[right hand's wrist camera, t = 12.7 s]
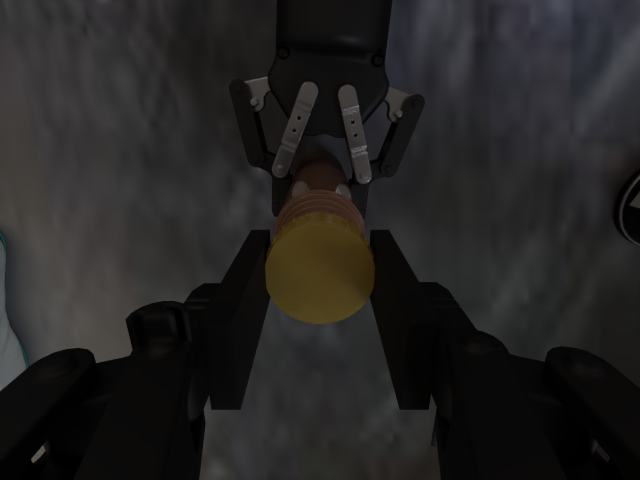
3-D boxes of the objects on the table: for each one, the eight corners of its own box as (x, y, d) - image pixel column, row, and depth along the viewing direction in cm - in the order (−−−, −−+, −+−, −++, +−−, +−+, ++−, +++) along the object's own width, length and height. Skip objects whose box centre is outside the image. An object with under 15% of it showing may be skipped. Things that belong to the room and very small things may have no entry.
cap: (372, 208, 14) (378, 219, 12) (371, 303, 15) (377, 323, 14) (262, 213, 14) (256, 225, 12) (273, 307, 15) (269, 327, 14)
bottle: (343, 150, 32) (379, 212, 12) (344, 197, 34) (378, 320, 14) (294, 152, 32) (254, 218, 13) (298, 200, 34) (267, 324, 14)
